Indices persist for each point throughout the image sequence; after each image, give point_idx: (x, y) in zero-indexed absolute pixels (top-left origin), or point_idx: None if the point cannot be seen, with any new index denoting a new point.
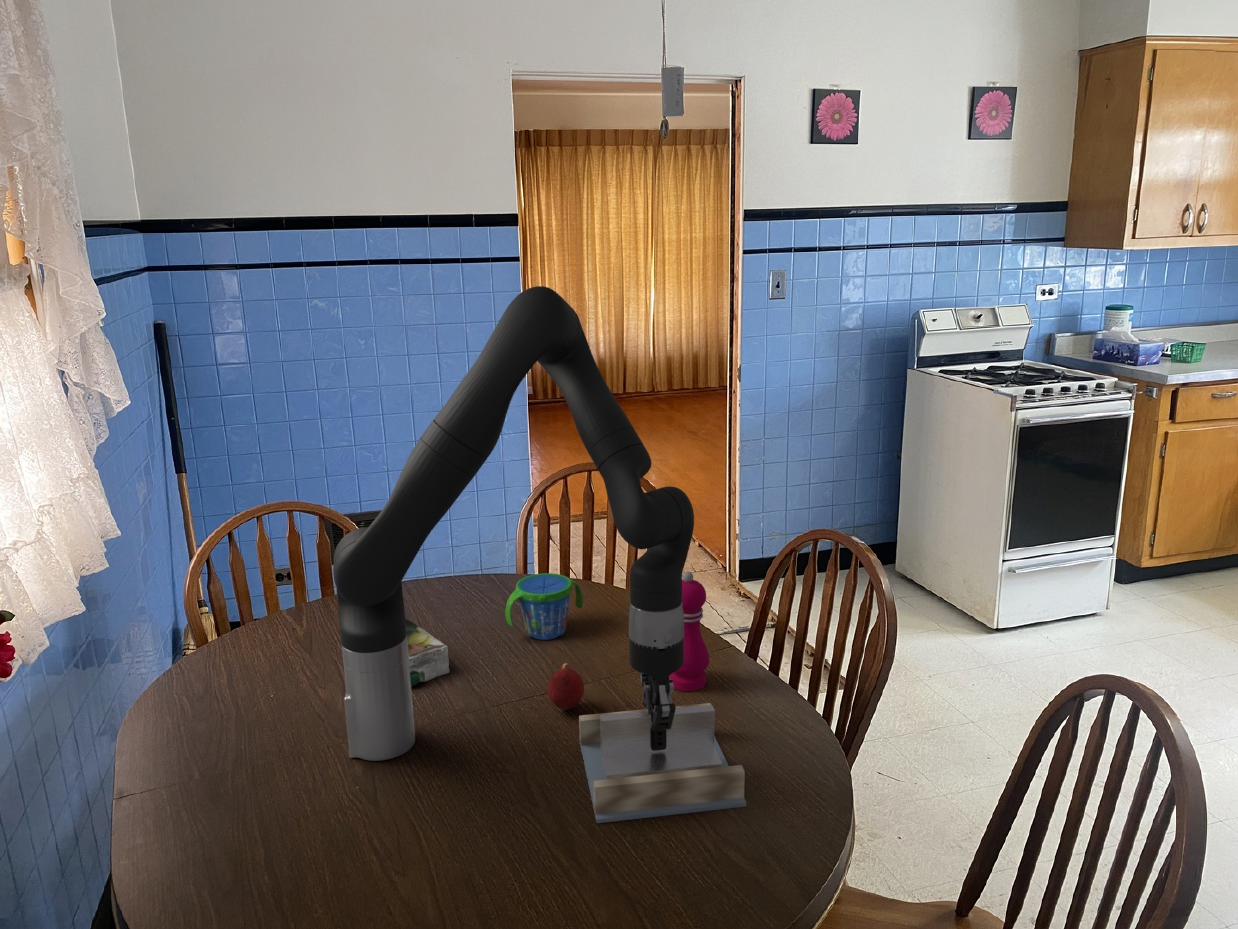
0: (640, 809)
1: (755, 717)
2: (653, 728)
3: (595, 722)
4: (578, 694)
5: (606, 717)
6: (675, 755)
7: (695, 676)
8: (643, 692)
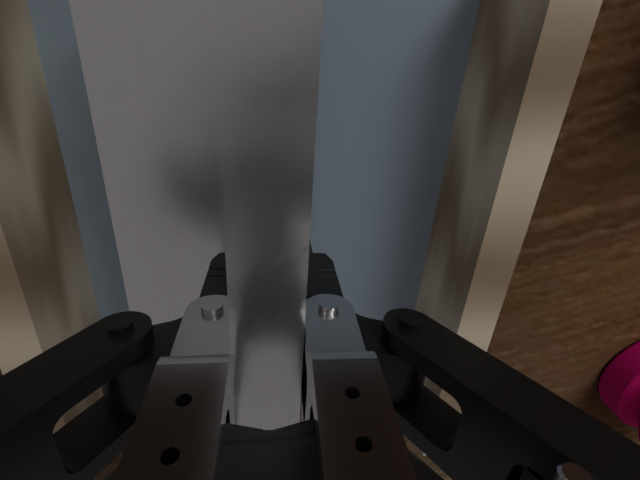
0: None
1: (431, 463)
2: (96, 328)
3: (533, 26)
4: None
5: (267, 9)
6: None
7: (638, 414)
8: (334, 426)
